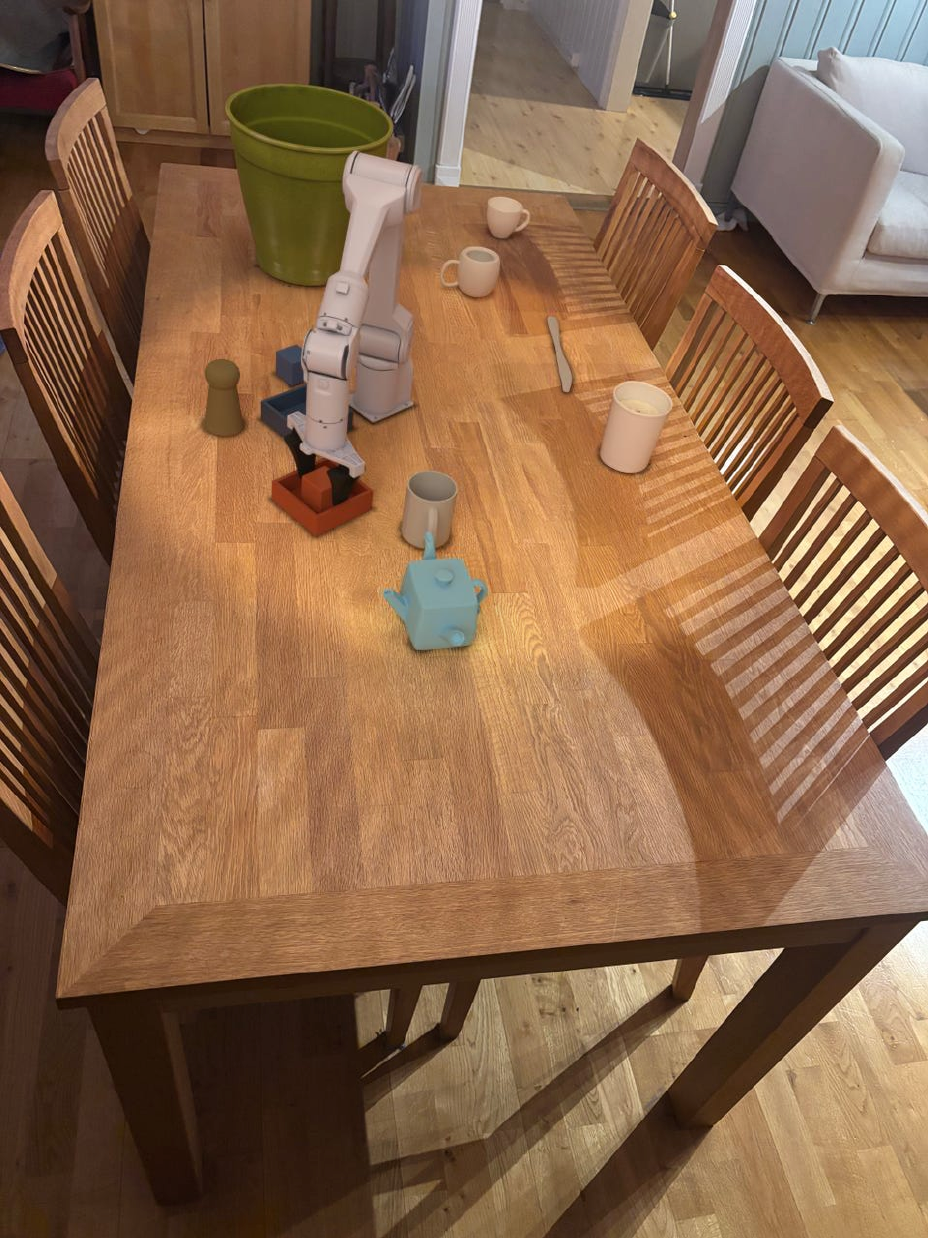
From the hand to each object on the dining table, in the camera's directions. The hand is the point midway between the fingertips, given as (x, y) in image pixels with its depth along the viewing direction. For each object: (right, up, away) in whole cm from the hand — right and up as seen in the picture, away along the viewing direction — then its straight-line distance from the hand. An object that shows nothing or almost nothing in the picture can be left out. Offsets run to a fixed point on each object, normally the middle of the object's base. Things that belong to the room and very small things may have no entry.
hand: (322, 489), depth 142 cm
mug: (+21, +48, +55) cm, 76 cm away
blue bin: (-5, +13, +15) cm, 20 cm away
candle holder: (+48, +8, +22) cm, 53 cm away
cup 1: (+15, -7, 0) cm, 17 cm away
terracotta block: (0, -2, +1) cm, 2 cm away
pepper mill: (-17, +12, +12) cm, 24 cm away
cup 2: (+30, +67, +76) cm, 106 cm away
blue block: (-8, +23, +24) cm, 34 cm away
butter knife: (+39, +31, +43) cm, 66 cm away
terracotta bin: (0, -2, +2) cm, 3 cm away
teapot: (+16, -20, -12) cm, 29 cm away
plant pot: (-11, +52, +52) cm, 74 cm away
